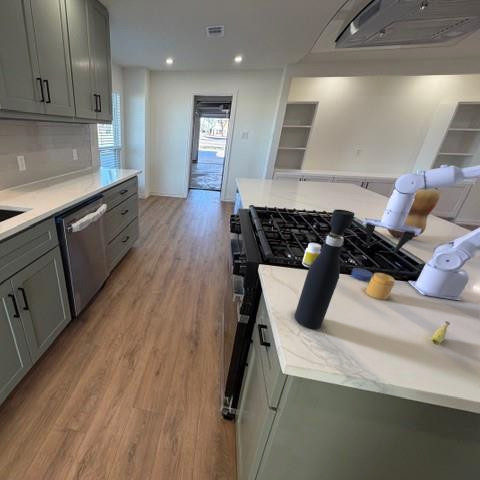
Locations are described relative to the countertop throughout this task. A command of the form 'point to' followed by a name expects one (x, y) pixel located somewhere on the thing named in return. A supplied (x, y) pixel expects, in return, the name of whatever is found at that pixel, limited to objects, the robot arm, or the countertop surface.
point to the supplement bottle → (311, 254)
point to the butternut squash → (419, 210)
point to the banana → (440, 334)
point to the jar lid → (362, 274)
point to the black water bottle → (323, 274)
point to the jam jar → (380, 286)
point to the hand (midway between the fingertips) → (381, 248)
